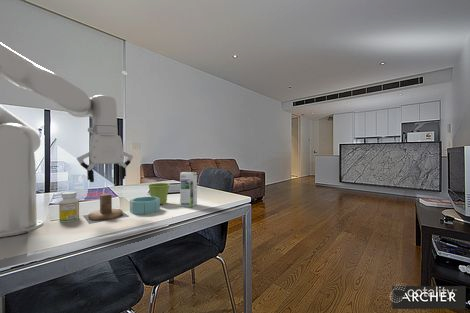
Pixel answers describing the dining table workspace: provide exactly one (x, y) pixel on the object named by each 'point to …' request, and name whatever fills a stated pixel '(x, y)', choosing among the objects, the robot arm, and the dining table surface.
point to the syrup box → (188, 189)
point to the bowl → (144, 205)
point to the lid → (105, 209)
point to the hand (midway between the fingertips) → (107, 180)
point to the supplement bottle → (69, 207)
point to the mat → (103, 220)
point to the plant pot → (159, 191)
